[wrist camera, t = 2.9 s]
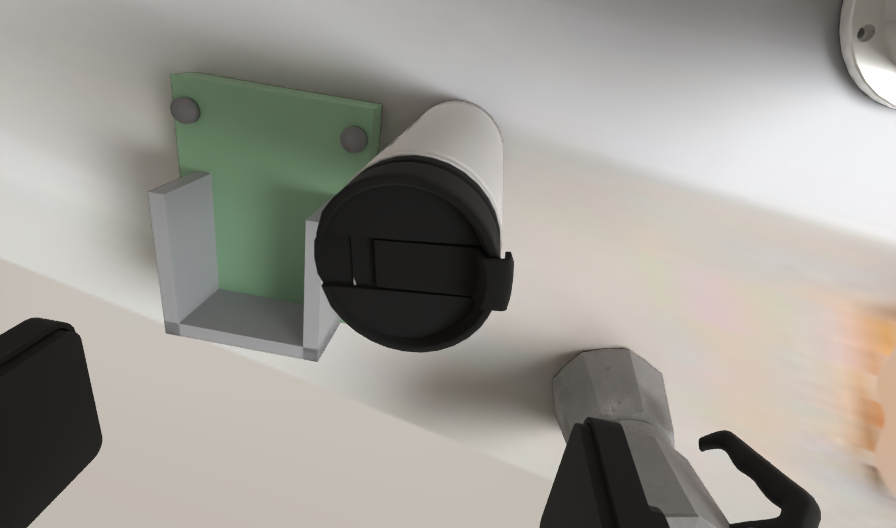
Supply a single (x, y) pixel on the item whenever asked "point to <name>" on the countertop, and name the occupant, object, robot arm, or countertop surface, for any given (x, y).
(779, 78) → the countertop surface
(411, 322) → the travel mug
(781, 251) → the countertop surface
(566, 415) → the coffeepot
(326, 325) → the green backplate cradle
